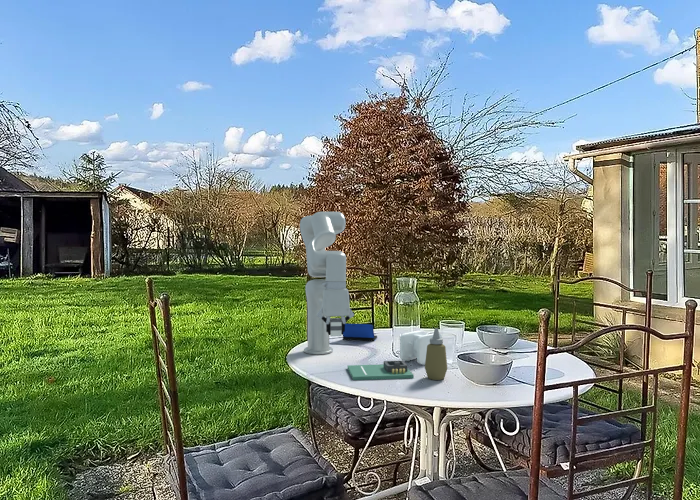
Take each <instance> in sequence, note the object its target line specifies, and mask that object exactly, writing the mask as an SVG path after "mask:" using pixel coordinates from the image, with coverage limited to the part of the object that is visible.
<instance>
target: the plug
mask: <svg viewBox="0 0 700 500" xmlns="http://www.w3.org/2000/svg"><path fill="white" fill-rule="evenodd" d="M330 324H331V326H330V330H331V334H330V335H329V337H342V334H341V330H342V319H341V317H330Z"/></svg>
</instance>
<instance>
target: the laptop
mask: <svg viewBox="0 0 700 500" xmlns="http://www.w3.org/2000/svg"><path fill="white" fill-rule="evenodd" d="M377 339H378V335H376V334H375V331H374V325H373V324H371V323H348V322H346V323H345V332H343V335H342V340H343V341H353V342H355V341H360V342H375V341H376V340H377Z"/></svg>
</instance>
